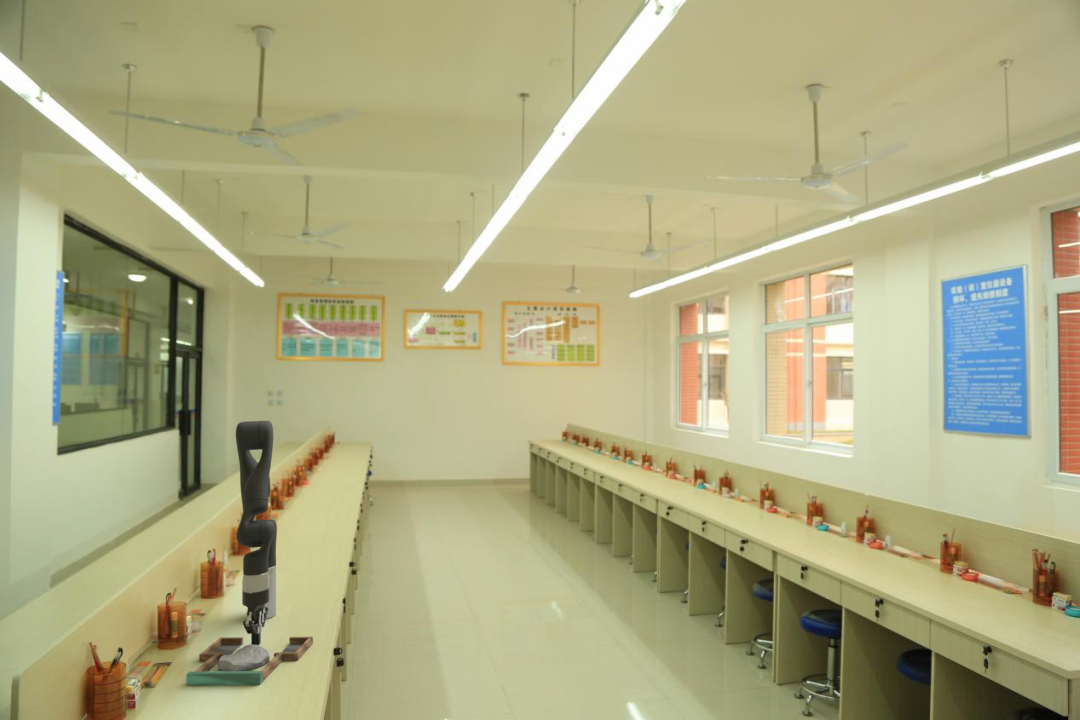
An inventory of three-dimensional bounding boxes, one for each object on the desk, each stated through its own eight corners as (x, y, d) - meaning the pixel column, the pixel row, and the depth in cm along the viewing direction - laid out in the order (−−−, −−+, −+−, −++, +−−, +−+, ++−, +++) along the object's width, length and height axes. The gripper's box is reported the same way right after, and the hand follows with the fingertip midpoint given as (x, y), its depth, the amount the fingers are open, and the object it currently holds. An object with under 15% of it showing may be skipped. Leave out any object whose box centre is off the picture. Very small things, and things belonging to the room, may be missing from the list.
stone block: (273, 667, 198) (252, 654, 203) (274, 652, 198) (253, 639, 203) (236, 685, 188) (215, 670, 193) (238, 668, 187) (216, 654, 193)
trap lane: (220, 643, 211) (220, 634, 211) (312, 643, 211) (312, 633, 211) (169, 685, 183) (169, 674, 183) (276, 684, 183) (276, 673, 183)
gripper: (252, 580, 210) (252, 636, 210) (233, 594, 197) (233, 654, 197) (276, 580, 210) (277, 636, 210) (259, 594, 197) (259, 654, 197)
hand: (255, 645), depth 203 cm, fingers closed
